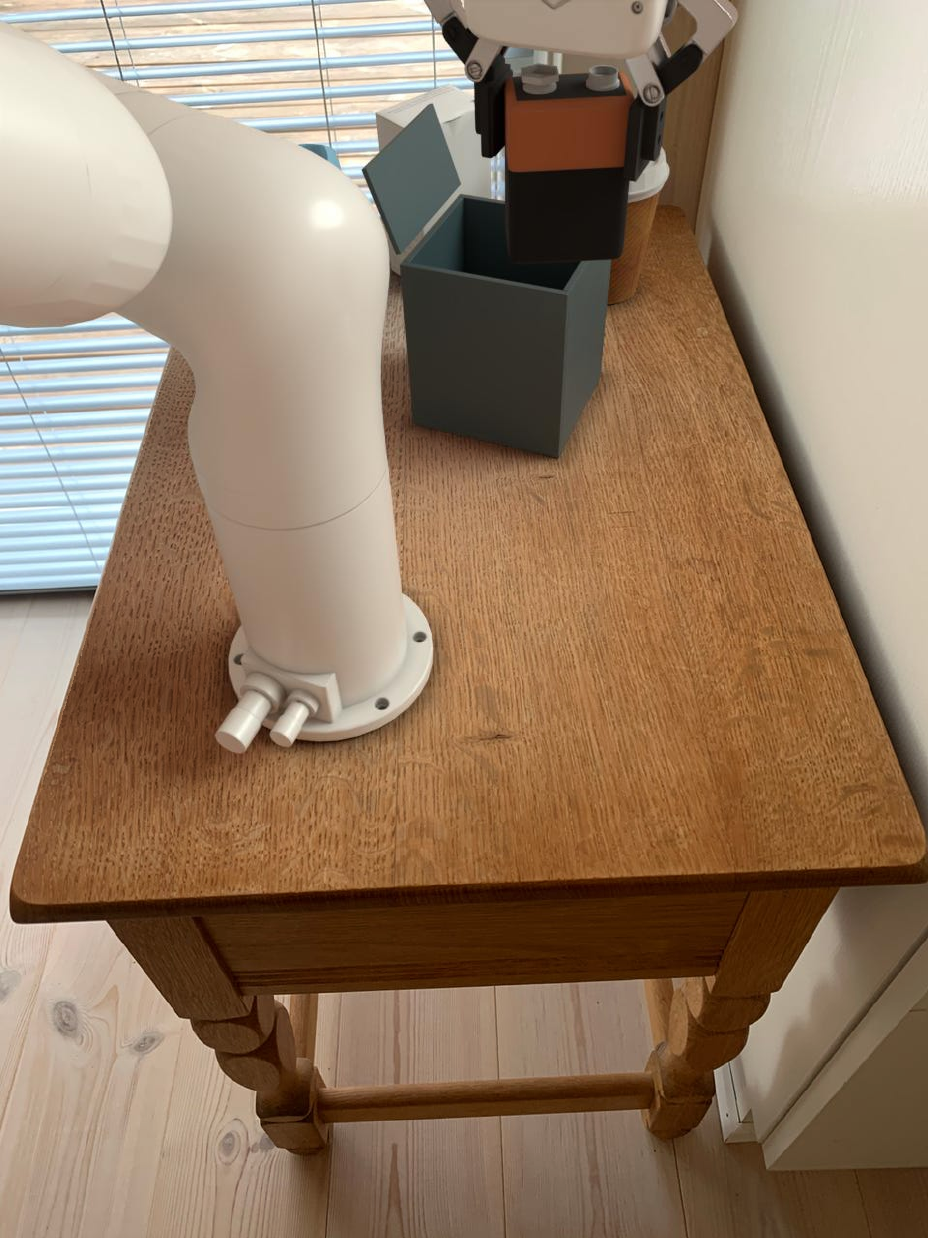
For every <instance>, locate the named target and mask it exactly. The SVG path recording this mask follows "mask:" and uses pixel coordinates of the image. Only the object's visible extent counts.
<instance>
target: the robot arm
mask: <svg viewBox="0 0 928 1238" xmlns="http://www.w3.org/2000/svg"><path fill="white" fill-rule="evenodd" d="M423 2H424V4H425V5H426V7H427V9H428V11H429V12H430V13H431V15H432V16H433V19H434V20H435V23H436V24H437V25H439V27H440V28H441V35H442V38H443V40H444V41H445V43H447V45H448V46H449V48H450V49H451V50H452V52H453V53H454V54H455V55H456V56H457V58H458V59H459V60H460V62H461V63H462V64H463V65H464V74H465V76H466V78H467V79H468V81H471V82H472V83H473V96H474V107H475V131H476V133H477V134H480V135H481V155H482V157H485V158H491V159H493V158H495V157H496V156H497V155H499V153H500V152H501V151H502V150H503V149H504V148H505V98H504V88H505V82H506V81H507V79H509V78H510V77H514V70H513V69H512V68H511V66H512V64H511V63H506V58H505V56H506V54H507V53H508V51H509V49H510V48H515V49H516V48H518V49H522V50H523V49H524V50H531V51H537V52H548V53H554V54H563V55H571V56H578V57H588V58H597V59H606V60H623V62H624V63H625V66H626V68H627V70H628V72H629V75H630V77H631V79H632V82H633V83H634V86H635V88H636V91H637V92H636V93H637V95H636V97H635V100H634V101H633V103H632V104H631V105H630V108H629V113H628V124H627V136H626V147H625V159H624V171H623V177H626V180H627V181H634V182H636V181H637V180H638V178H639V177H640V175H641V174H642V172H643V171H644V169H645V168H646V167H647V165H648V164H649V162H650V161H656V160H657V158H658V156H659V154H660V151H661V147H662V148H663V142H664V141H663V140H664V133H665V132H664V131H665V123H666V122H665V121H666V113H667V112H666V111H667V106H668V105H667V104H668V97H669V95H670V94H671V93H672V92H673V91H674V90H676V89H677V88H678V87H679V86H680V85H681V84H683V83H684V82H685V81H687V79H688V78H689V77H691V76H692V75H693V74H694V73H695V72H696V71H697V70H698V69H699V68H700V67H701V65H702V64H703V63H704V62H705V60H706V59H707V58H708V57H710V55H711V54H712V53H713V51H715V49H716V48H717V47H718V46H719V44H720V43H721V42H722V41H723V40H724V38H725V37H727V35H728V34H729V33H730V31H731V30H732V29H733V27H734V26H735V24H736V22H737V21H738V19H739V18H738V17H739V13H738V9H737V8H736V6H735V5H734V4H733V3H732V2H731V1H730V0H463V2H462V0H423ZM677 4H679V5H680V6H681V8H682V9H684V10H685V11H686V12H687V13H688V14H689V16H690V17H691V18H693V20H694V22H695V25H696V28H695V32H694V33H693V34H692V35H691V36H690V38H689V39H688V40H686V42H685V43H683V45H681V46H680V48H678V49H677V50H676V51H675V52H674V53H671V51H670V48H669V46H668V44H667V41H666V39H665V36H664V34H663V31H662V29H663V28H666V27H668V25H670V23H671V22H672V21H673V18H674V16H675V14H676V8H677ZM341 170H342V169H341ZM341 170H340V169H339V168H337V167H336V166H335V165H333V164H332V163H330V162H328V161H327V160H325V159H323V158H322V157H320V156H318V155H317V154H315V153H313V152H312V151H310V150H307V149H305V148H303V147H301V146H299V144H297V143H295V142H293V141H290V140H288V139H285V138H283V137H279V136H277V135H274V134H272V133H269V132H265V131H263V130H261V129H258V128H254V127H252V126H249V125H246V124H244V123H242V122H238V121H236V120H233V119H230V118H228V117H225V116H223V115H218V114H211V113H208V112H206V111H203V110H201V109H197V108H195V107H192V106H189V105H187V104H184V103H181V102H179V101H176V100H173V99H170V98H168V97H165V96H163V95H160V94H157V93H155V92H152V91H150V90H146V89H145V88H142V87H139V86H137V85H134V84H132V83H128V82H126V81H124V80H120V79H118V78H115V77H114V76H110V75H108V74H106V73H102V72H101V71H98V70H96V69H93V68H91V67H89V66H86V65H84V64H81V63H80V62H77V61H76V60H73V59H72V58H70V57H69V56H67V55H66V54H64V53H62V52H61V51H60V50H58V49H56V48H55V47H53V46H52V45H50V44H49V43H47V42H45V41H43V39H41V38H39V37H37V36H35V35H33V34H31V33H28V32H27V31H24V30H22V29H20V28H18V27H16V26H13V25H12V24H10V23H7V22H5V21H3V20H1V19H0V326H7V327H14V328H22V329H41V328H46V329H47V328H64V327H68V326H74V325H77V324H82V323H87V322H91V321H94V320H97V319H99V318H101V317H104V316H106V315H108V314H111V313H114V314H116V315H118V316H120V317H122V318H124V319H126V320H127V321H129V322H132V323H133V324H135V325H137V326H139V327H140V328H141V329H143V330H144V331H145V332H146V333H149V334H150V335H152V336H153V337H156V338H158V339H159V340H162V341H164V342H165V343H166V344H168V345H170V346H171V347H173V348H174V349H175V350H177V352H179V353H180V355H182V357H183V358H184V359H185V361H186V362H187V363H188V366H189V368H190V369H191V371H192V373H193V378H194V382H195V383H194V384H195V392H194V398H193V401H192V404H191V408H190V412H189V416H188V419H187V444H188V449H189V454H190V459H191V462H192V467H193V471H194V474H195V477H196V480H197V483H198V487H199V490H200V492H201V495H202V497H203V501H204V505H205V508H206V511H207V514H208V518H209V521H210V524H211V527H212V530H213V535H214V536H215V537H214V538H215V541H216V544H217V547H218V551H219V554H220V557H221V561H222V564H223V567H224V570H225V574H226V577H227V581H228V584H229V586H230V587H229V588H230V591H231V594H232V597H233V600H234V603H235V604H234V605H235V608H236V611H237V614H238V617H239V618H238V619H239V620H240V626H239V627H238V629H237V630H236V633H235V634H234V636H233V640H232V642H231V644H230V648H229V653H228V659H227V660H228V675H229V679H230V682H231V685H232V689H233V691H234V693H235V695H236V697H237V700H238V702H237V704H235V706H234V707H233V708H232V709H231V710H230V712H229V713H228V715H226V717H225V719H224V720H223V721H222V723H221V725H220V726H219V727H218V729H217V730H216V732H215V733H214V738H215V740H216V741H217V743H218V744H219V745H220V747H223V748H224V749H225V750H227V751H229V752H231V753H234V754H240V755H241V754H244V753H246V751H247V750H248V748H249V747H250V745H251V743H252V742H253V740H254V739H255V737H256V736H257V734H258V733H259V731H260V730H261V727H262V726H263V727H264V728H267V729H269V730H270V732H269V737H270V740H271V741H273V742H274V743H275V744H276V745H278V746H280V747H283V748H287V749H288V748H290V747H292V745H293V744H294V742H295V741H296V740H300V741H312V742H330V741H333V742H334V741H341V740H346V739H350V738H351V739H352V738H355V737H359V736H362V735H365V734H367V733H370V732H372V731H376V730H378V729H379V728H381V727H384V726H385V725H387V724H388V723H390V722H392V721H393V720H395V719H397V718H398V717H399V716H400V715H402V713H404V712H405V711H406V710H407V709H409V708H410V707H411V705H412V704H413V703H414V702H415V701H416V700H417V698H418V697H419V696H420V695H421V694H422V692H423V690H424V688H425V686H426V685H427V683H428V681H429V679H430V675H431V672H432V668H433V665H434V643H433V634H432V630H431V627H430V625H429V621H428V618H427V616H425V614H424V613H423V611H422V610H421V608H420V607H419V605H418V604H416V603H415V602H414V601H413V599H411V598H410V596H409V595H407V594H405V593H403V587H402V578H401V577H402V576H401V569H400V559H399V551H398V542H397V531H396V524H395V523H396V522H395V513H394V505H393V504H394V503H393V497H392V488H391V487H392V486H391V478H390V469H389V461H388V456H387V447H386V445H387V444H386V436H385V425H384V415H383V414H384V413H383V402H382V377H381V376H382V375H381V373H382V349H383V338H384V337H383V336H384V329H385V320H386V313H387V305H388V297H389V287H390V276H391V275H390V273H391V271H390V267H391V263H390V251H389V242H388V237H387V235H386V234H387V233H386V230H385V227H384V224H383V222H382V219H381V217H380V215H379V213H378V211H377V209H376V208H375V207H374V205H373V203H372V202H371V201H370V199H369V197H368V196H367V194H366V193H365V192H364V191H363V190H362V189H361V188H360V186H359V185H357V184H356V182H355V181H353V180H352V178H351V177H349V176H348V175H347V174H346V173H345V172H344V171H343V170H342V171H341Z"/></svg>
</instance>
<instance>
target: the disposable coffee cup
mask: <svg viewBox="0 0 928 1238" xmlns="http://www.w3.org/2000/svg"><path fill="white" fill-rule="evenodd" d="M666 156H667V155H666V151H665V149H664V148H663V146H662V147H661V151H660V154H659V156H658V158H657V160H656V161H650V162H649V164H648V165H647V167H646V168H645V169H644V171H643V172H642V174H641V175H640V177H639V178H638V180H637V181H636V182H634V181H630V183H629V194H628V205H627V215H626V226H625V237H624V247H623V253H622V255H621V257H619V258H617V259H612V260H611V268H610V279H609V291H608V302H607V305H613V304H619V303H622V302H624V301H627V300H629V299H631V297H633V295H634V294H635V293H636V291H637V286H638V283H639V278H640V276H641V275H640V274H641V271H642V267H643V263H644V259H645V255H646V252H647V246H648V243H649V240H650V239H649V238H650V234H651V230H652V227H653V223H654V218H655V215H656V211H657V206H658V202H659V199H660V195H661V191H662V189H663V187H664V186H665V183H666V182H667V181H668V178H669V176H670V166H669V164H668V163H667V157H666Z"/></svg>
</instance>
